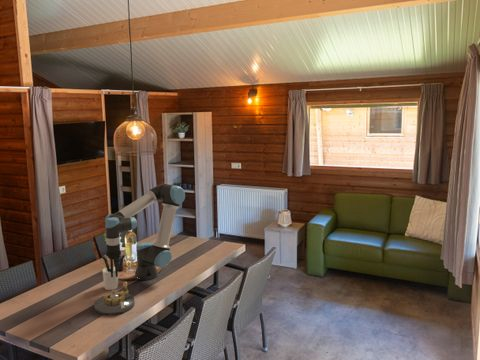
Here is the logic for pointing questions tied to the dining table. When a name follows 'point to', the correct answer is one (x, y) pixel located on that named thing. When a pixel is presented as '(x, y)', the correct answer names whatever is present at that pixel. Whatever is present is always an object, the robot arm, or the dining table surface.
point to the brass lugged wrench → (115, 300)
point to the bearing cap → (115, 309)
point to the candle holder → (109, 280)
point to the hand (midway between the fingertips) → (114, 282)
